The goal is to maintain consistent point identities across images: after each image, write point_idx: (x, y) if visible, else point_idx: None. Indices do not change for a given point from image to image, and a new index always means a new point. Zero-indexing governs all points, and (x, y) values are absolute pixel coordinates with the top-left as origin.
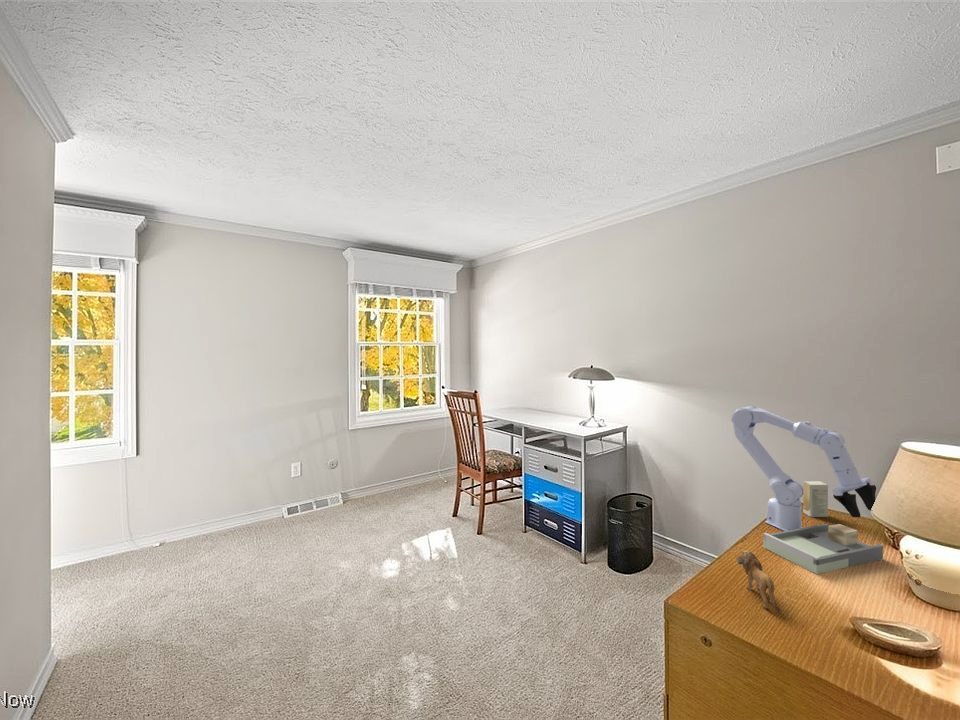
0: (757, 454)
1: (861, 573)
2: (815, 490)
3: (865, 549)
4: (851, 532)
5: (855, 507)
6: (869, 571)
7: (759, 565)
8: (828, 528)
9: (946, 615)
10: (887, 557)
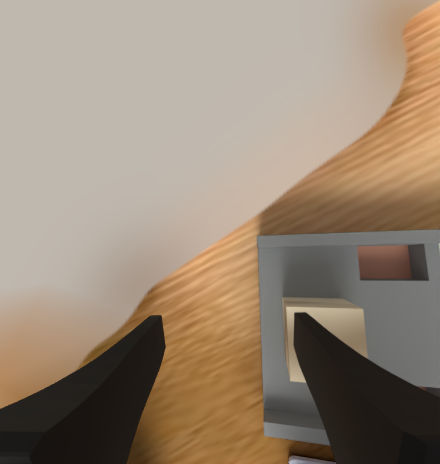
0: None
1: (413, 198)
2: None
3: (348, 233)
4: (324, 307)
5: (347, 347)
6: (375, 201)
7: None
8: None
9: (409, 26)
10: (234, 242)
